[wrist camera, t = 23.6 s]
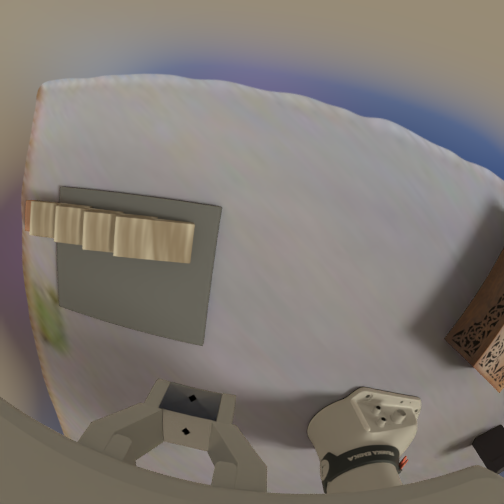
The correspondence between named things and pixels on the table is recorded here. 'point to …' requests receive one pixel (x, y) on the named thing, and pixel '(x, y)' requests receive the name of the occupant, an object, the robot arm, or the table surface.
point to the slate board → (141, 271)
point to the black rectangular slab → (491, 449)
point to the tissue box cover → (484, 328)
